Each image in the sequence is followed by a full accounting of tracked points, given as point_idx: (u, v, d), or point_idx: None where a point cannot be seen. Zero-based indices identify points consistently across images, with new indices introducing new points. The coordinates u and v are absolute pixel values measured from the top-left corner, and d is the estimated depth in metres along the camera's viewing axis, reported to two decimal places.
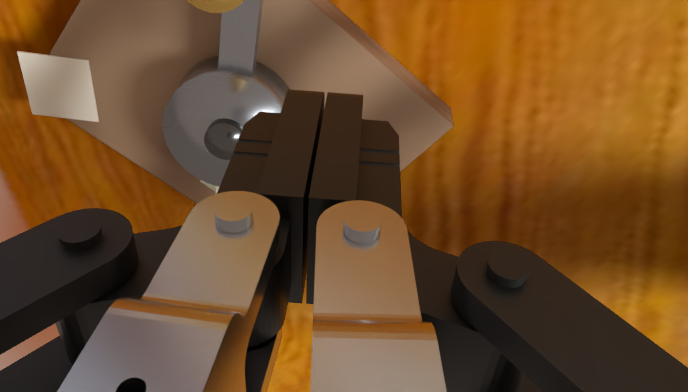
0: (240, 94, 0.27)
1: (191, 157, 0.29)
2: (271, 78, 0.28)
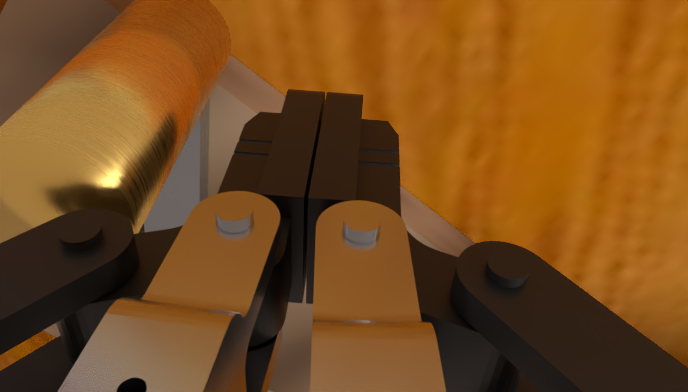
0: None
1: None
2: None
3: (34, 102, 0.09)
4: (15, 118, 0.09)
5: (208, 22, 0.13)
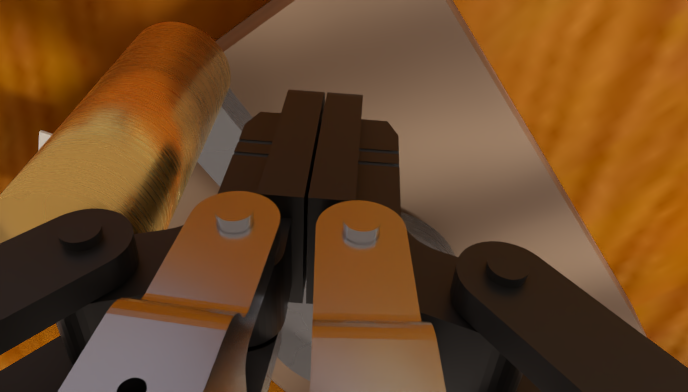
0: None
1: None
2: None
3: None
4: None
5: (175, 36, 0.13)
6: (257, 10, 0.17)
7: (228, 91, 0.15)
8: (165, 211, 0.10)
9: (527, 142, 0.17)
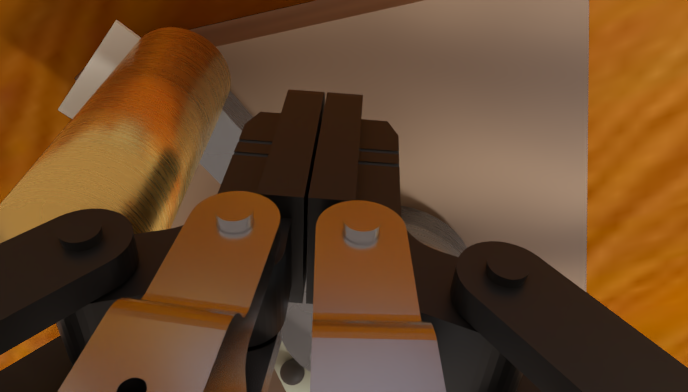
0: None
1: None
2: None
3: None
4: None
5: (172, 41, 0.13)
6: None
7: (228, 94, 0.15)
8: (164, 215, 0.10)
9: (584, 196, 0.18)
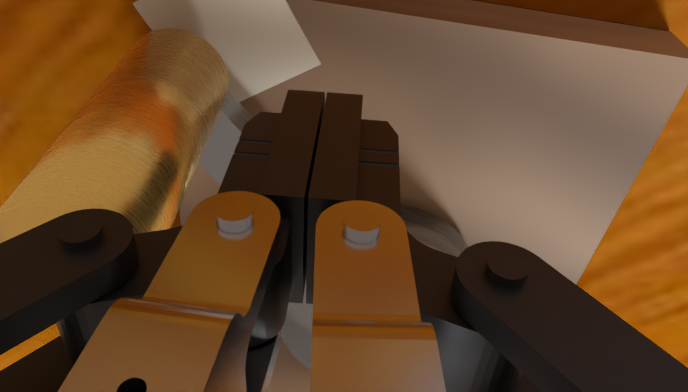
0: None
1: None
2: None
3: None
4: None
5: (170, 42, 0.13)
6: None
7: (227, 94, 0.15)
8: (163, 218, 0.10)
9: (590, 255, 0.20)
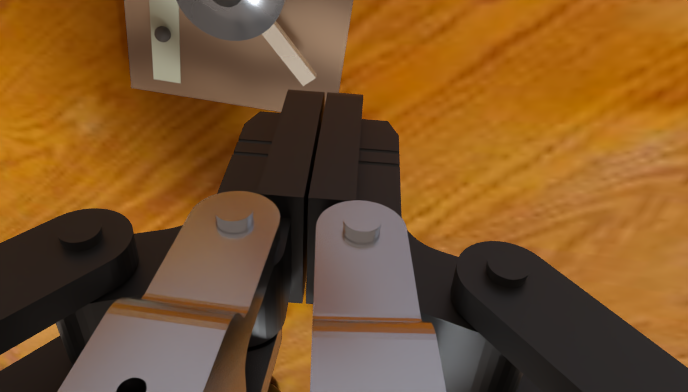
0: None
1: (225, 26, 0.33)
2: None
3: None
4: None
5: None
6: None
7: None
8: None
9: None
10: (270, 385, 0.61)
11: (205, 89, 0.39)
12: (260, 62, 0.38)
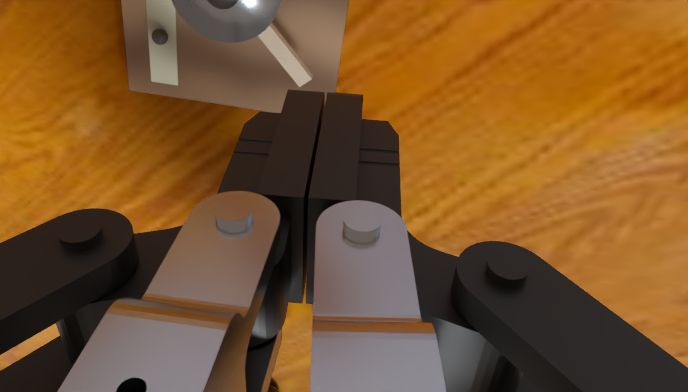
0: None
1: (221, 28, 0.34)
2: None
3: None
4: None
5: None
6: None
7: None
8: None
9: None
10: (270, 387, 0.61)
11: (202, 91, 0.39)
12: (257, 64, 0.38)
